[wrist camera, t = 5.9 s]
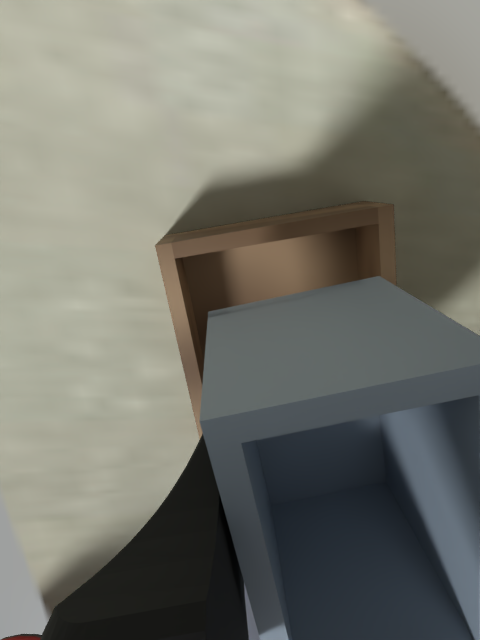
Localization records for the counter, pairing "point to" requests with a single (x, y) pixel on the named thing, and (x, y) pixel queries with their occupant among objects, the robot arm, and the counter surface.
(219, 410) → the grey crate
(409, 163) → the counter surface
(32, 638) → the beer can
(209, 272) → the walnut crate
